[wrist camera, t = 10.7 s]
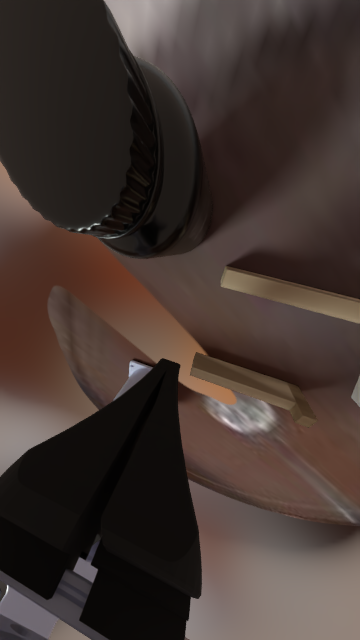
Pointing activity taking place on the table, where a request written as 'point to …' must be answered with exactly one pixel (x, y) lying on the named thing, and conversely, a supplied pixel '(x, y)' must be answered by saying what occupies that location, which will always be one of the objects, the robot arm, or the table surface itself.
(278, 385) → the chute
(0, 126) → the supplement bottle
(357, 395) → the beige cube
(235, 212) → the table surface
